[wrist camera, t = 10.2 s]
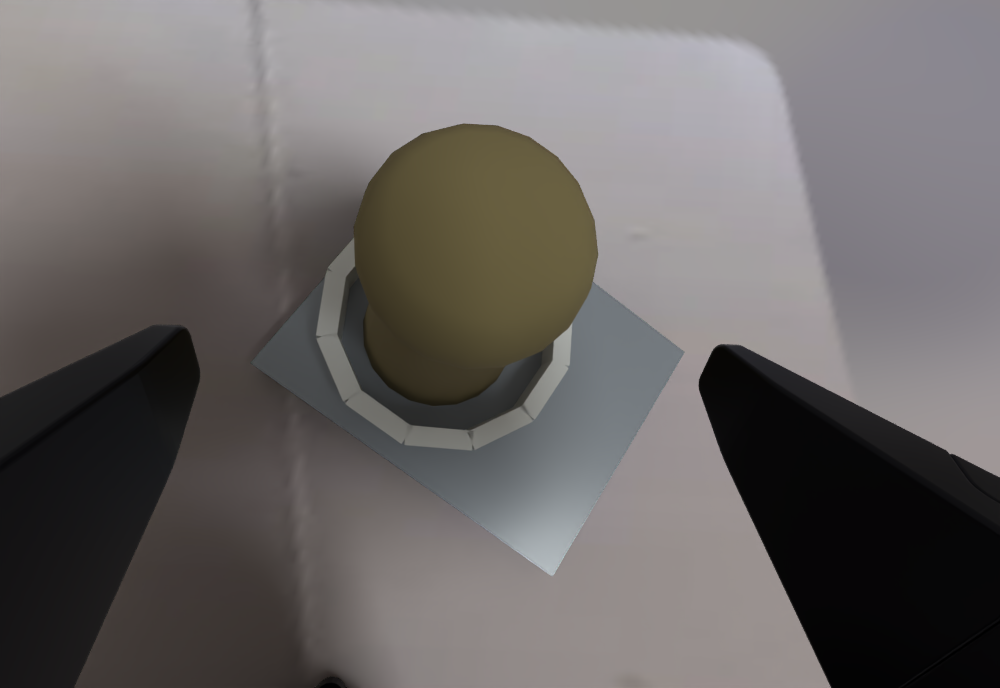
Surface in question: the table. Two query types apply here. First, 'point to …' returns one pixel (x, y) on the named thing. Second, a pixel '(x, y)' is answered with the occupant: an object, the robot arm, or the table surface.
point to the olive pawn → (469, 259)
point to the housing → (488, 412)
